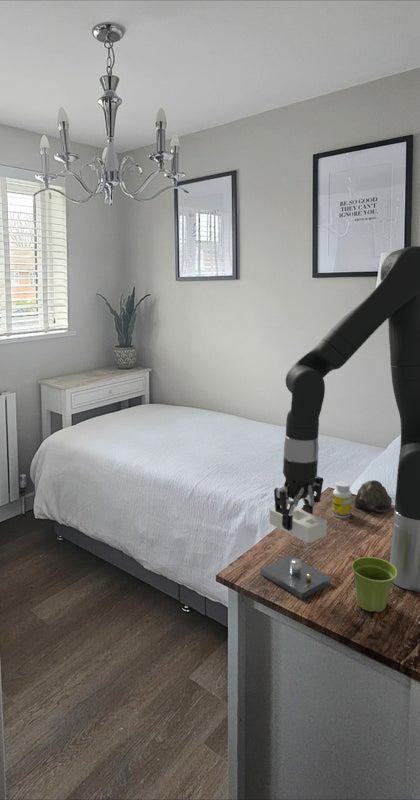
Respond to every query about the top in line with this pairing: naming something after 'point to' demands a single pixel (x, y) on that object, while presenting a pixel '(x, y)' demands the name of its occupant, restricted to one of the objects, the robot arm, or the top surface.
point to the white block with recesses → (301, 524)
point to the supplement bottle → (341, 500)
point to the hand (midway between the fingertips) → (297, 524)
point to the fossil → (373, 497)
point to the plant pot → (373, 582)
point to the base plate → (296, 576)
